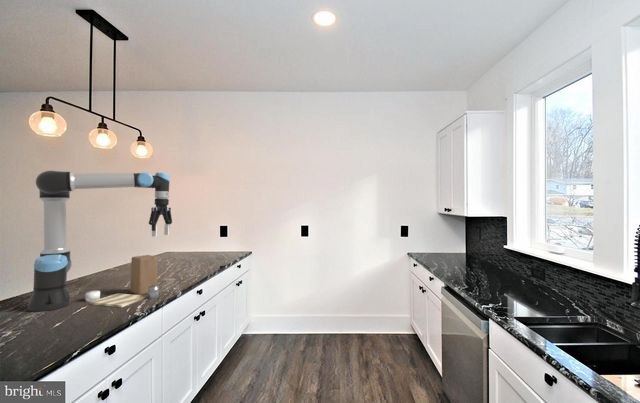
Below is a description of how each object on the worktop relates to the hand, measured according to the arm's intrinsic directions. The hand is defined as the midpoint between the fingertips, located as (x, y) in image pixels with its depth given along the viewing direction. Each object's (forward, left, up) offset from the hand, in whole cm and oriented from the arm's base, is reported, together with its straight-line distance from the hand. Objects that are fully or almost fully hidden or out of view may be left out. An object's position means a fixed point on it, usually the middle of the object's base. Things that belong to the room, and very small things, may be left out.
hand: (160, 235), depth 181 cm
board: (0, -28, -31) cm, 42 cm away
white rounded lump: (-14, -30, -31) cm, 45 cm away
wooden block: (0, -12, -31) cm, 33 cm away
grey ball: (+12, -19, -31) cm, 38 cm away
